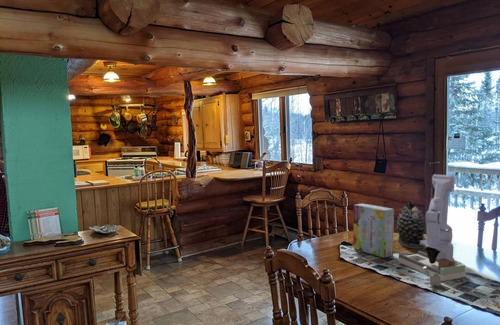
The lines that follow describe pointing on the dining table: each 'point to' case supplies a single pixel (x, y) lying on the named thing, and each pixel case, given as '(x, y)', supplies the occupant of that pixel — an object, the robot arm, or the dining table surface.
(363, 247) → the snack box
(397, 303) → the dining table surface
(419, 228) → the pine cone
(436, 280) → the lighter
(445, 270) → the trap channel
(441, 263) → the walnut block
